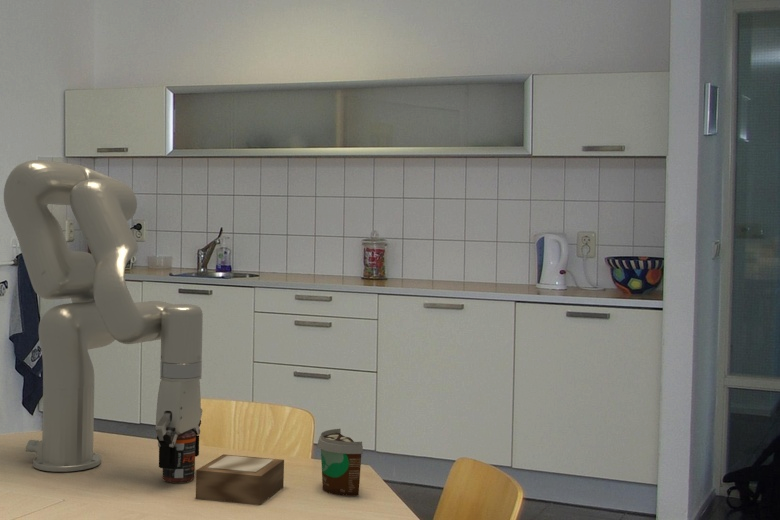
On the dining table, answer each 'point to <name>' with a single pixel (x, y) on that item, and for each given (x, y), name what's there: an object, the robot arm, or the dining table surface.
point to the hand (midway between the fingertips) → (179, 461)
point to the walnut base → (240, 479)
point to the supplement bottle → (182, 459)
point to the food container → (340, 463)
